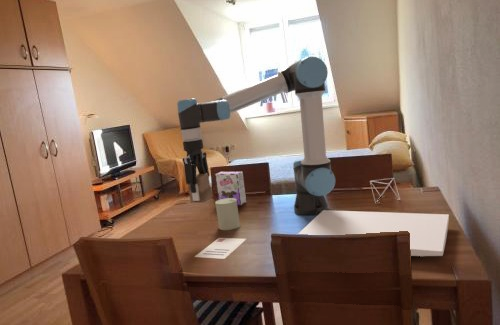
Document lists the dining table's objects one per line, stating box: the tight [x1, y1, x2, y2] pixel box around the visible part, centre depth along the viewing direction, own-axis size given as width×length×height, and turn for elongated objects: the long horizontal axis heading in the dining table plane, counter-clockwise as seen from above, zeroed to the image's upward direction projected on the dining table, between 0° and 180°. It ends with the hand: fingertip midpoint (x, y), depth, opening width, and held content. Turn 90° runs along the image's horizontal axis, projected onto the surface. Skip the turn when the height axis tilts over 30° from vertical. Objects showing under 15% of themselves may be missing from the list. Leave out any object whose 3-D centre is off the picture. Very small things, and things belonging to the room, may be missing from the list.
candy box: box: [214, 171, 247, 206], centre depth 201 cm, size 14×6×16 cm, turn 58°
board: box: [297, 209, 450, 258], centre depth 132 cm, size 45×32×5 cm
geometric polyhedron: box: [369, 177, 401, 204], centre depth 173 cm, size 12×11×9 cm
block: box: [187, 173, 212, 204], centre depth 152 cm, size 6×6×10 cm
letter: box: [194, 237, 247, 260], centre depth 141 cm, size 12×18×1 cm, turn 156°
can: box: [214, 198, 241, 231], centre depth 163 cm, size 9×9×12 cm
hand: (201, 197), depth 153 cm, fingers closed on block, 6 cm apart
